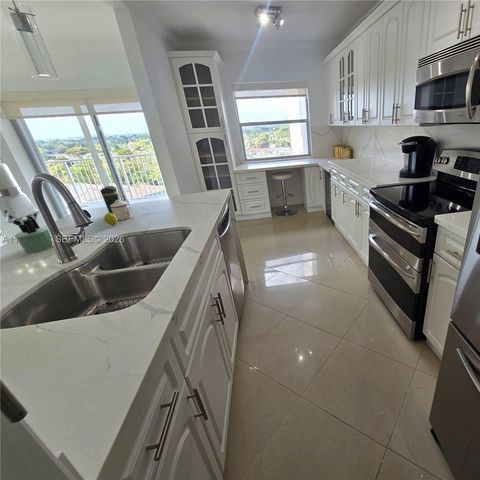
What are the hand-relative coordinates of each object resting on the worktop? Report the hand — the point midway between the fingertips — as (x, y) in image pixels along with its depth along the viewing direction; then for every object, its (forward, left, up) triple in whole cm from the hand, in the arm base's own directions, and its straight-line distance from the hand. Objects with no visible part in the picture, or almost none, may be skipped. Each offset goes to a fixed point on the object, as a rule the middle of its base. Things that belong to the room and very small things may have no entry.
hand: (31, 230), depth 121 cm
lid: (0, 0, -1) cm, 1 cm away
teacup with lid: (+31, +30, -10) cm, 44 cm away
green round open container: (0, 0, -10) cm, 10 cm away
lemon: (+27, +16, -10) cm, 33 cm away
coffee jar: (+27, +40, -10) cm, 49 cm away
